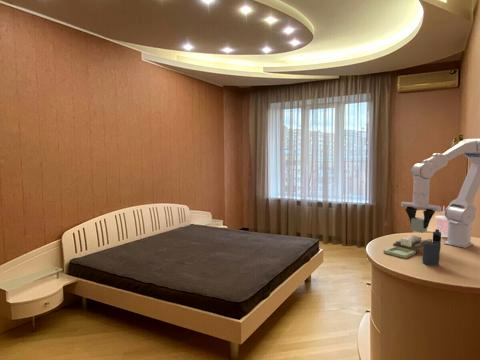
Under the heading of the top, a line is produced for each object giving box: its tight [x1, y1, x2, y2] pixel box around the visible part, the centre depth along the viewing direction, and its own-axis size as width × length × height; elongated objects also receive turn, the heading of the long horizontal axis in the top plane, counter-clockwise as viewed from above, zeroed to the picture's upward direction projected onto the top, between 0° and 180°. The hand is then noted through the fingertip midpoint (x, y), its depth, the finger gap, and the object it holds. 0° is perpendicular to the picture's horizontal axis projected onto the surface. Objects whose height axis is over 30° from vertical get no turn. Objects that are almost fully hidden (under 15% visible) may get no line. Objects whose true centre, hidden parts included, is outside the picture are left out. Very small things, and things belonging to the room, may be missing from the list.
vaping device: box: [421, 228, 442, 266], centre depth 110 cm, size 3×5×12 cm, turn 79°
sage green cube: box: [410, 216, 428, 233], centre depth 131 cm, size 4×4×5 cm
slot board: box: [392, 238, 433, 255], centre depth 129 cm, size 14×10×3 cm, turn 128°
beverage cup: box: [434, 205, 449, 238], centre depth 146 cm, size 6×6×14 cm
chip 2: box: [406, 234, 422, 244], centre depth 129 cm, size 4×4×2 cm
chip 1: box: [400, 236, 416, 247], centre depth 126 cm, size 4×4×2 cm
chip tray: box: [383, 245, 417, 259], centre depth 122 cm, size 9×8×1 cm
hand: (419, 226), depth 131 cm, fingers closed on sage green cube, 4 cm apart
